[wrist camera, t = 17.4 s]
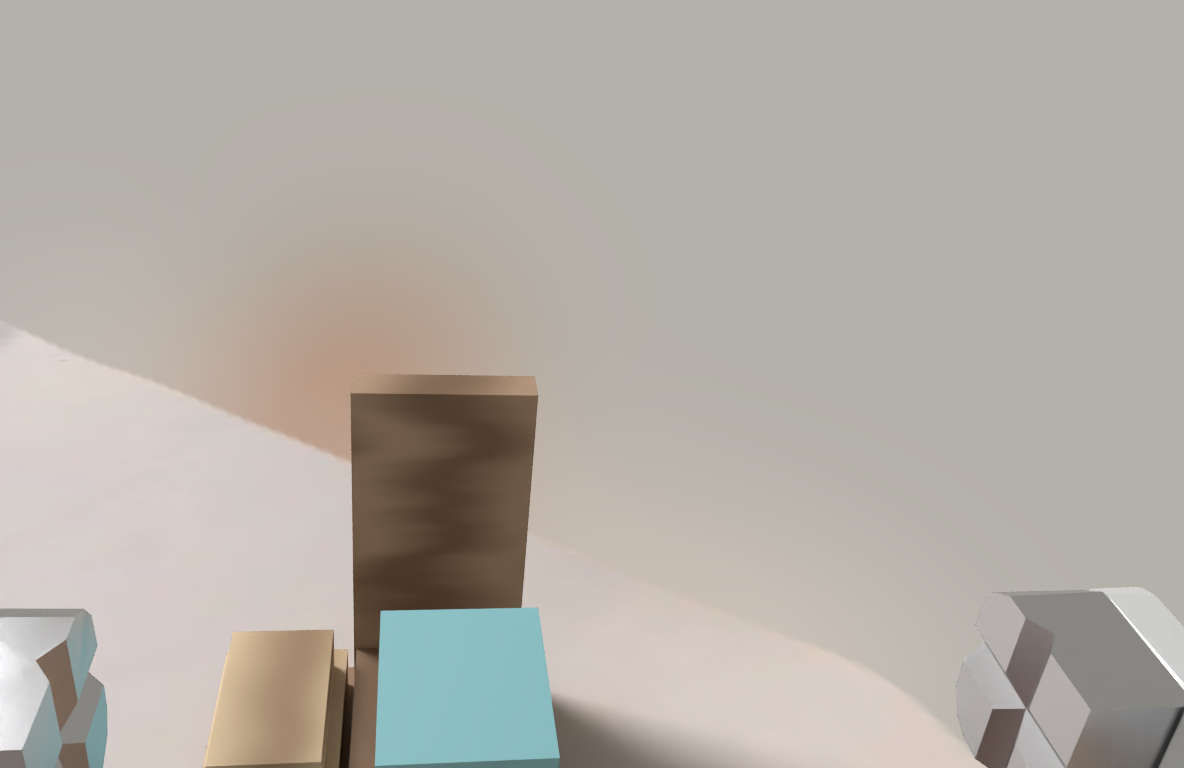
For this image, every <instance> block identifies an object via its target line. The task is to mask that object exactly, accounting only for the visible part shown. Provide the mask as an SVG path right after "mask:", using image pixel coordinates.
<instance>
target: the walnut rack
mask: <svg viewBox="0 0 1184 768" xmlns="http://www.w3.org/2000/svg"><path fill="white" fill-rule="evenodd" d="M537 403H538V392H537V387H536V382H535V377H533V376H469V375H466V376H465V375H464V376H463V375H400V374H399V375H398V374H353V376H352V385H351V444H352V445H351V446H352V447H351V449H352V520H353V592H354V663H355V667H353V668H348V696H347V710H346V724H345V737H344V751H343V765H342V768H375V749H376V722H377V696H378V669H379V643H380V616H381V611H395V610H444V609H492V608H521V605H522V593H523V580H524V567H525V555H526V542H527V530H528V517H529V503H530V491H531V477H532V465H533V454H534V440H535V428H536V415H537Z"/></svg>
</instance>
